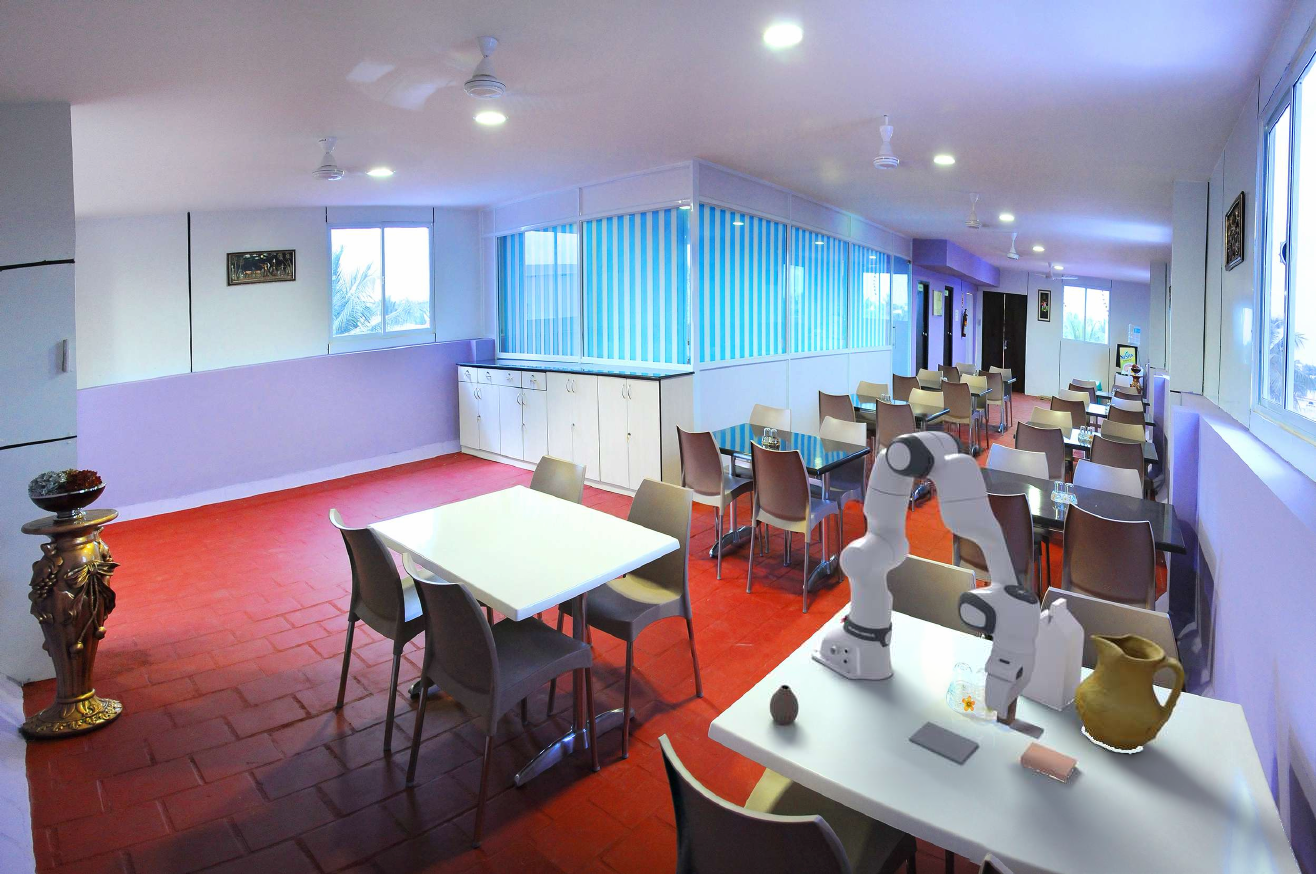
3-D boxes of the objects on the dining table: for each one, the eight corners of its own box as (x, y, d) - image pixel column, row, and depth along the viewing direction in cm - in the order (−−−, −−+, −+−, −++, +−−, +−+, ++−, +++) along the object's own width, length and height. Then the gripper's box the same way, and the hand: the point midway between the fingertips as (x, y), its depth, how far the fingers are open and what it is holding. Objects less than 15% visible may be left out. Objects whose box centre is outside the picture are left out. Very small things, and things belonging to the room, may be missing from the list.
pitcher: (1097, 709, 175) (1114, 619, 169) (1177, 754, 159) (1199, 657, 153) (1053, 726, 168) (1068, 633, 162) (1131, 776, 152) (1152, 675, 146)
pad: (909, 740, 161) (909, 738, 161) (927, 723, 168) (927, 721, 168) (961, 764, 153) (961, 762, 153) (978, 745, 160) (978, 743, 160)
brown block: (995, 722, 158) (998, 698, 157) (1001, 715, 161) (1004, 692, 160) (1038, 739, 152) (1041, 714, 151) (1043, 732, 155) (1046, 707, 154)
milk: (1061, 711, 175) (1073, 615, 170) (1014, 691, 183) (1025, 599, 179) (1079, 695, 182) (1092, 603, 178) (1034, 677, 191) (1045, 589, 186)
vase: (783, 732, 163) (785, 698, 162) (763, 718, 169) (764, 685, 167) (803, 722, 167) (805, 689, 166) (782, 709, 173) (784, 677, 171)
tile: (1020, 756, 153) (1065, 775, 147) (1032, 741, 159) (1076, 759, 153) (1019, 765, 154) (1064, 784, 147) (1031, 750, 159) (1075, 768, 153)
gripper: (1014, 638, 165) (1007, 691, 168) (981, 667, 151) (975, 724, 154) (1042, 647, 161) (1035, 701, 163) (1012, 678, 147) (1005, 737, 149)
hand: (1006, 713), depth 158 cm, fingers closed on brown block, 3 cm apart
